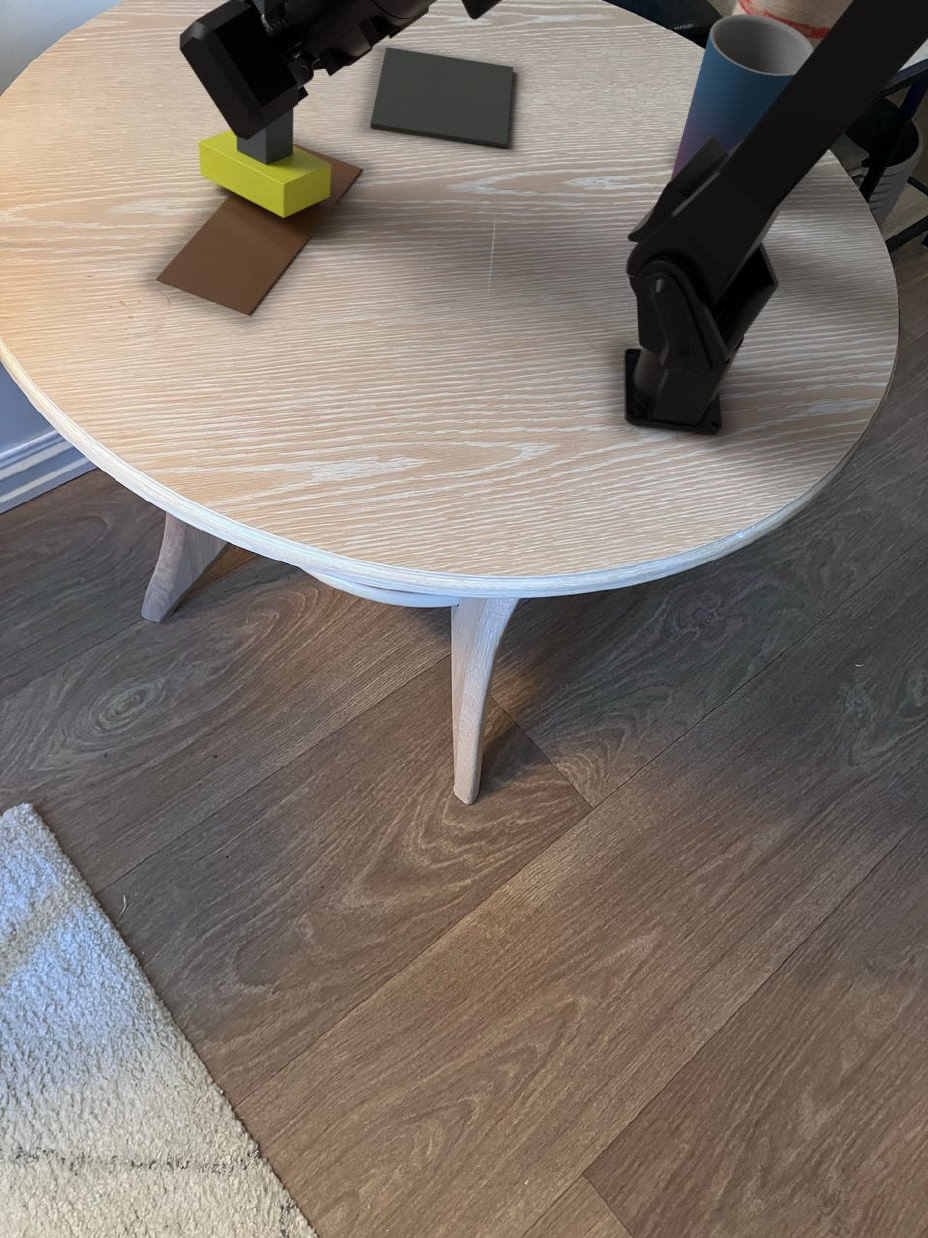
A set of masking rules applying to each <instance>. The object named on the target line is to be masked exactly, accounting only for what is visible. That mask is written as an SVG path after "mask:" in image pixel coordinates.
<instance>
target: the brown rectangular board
mask: <svg viewBox="0 0 928 1238" xmlns="http://www.w3.org/2000/svg"><path fill="white" fill-rule="evenodd" d="M293 146H294V147H296V148H299V149H301V150H303V151H305V152H307V153H309V154H311V155H313V156H315V157H317V158H319V159H321V160H323V161H325V162H327V163H329V164H331V177H330V197H328V198H326V199H324V200H322V201H320V202H317V203H315V204H313V205H311V206H309V207H306V208H304V209H302V210H300V211H298V212H296V213H293V214H291V215H289V216H287V217H285V218H283V217H281V216H279V215H277V214H275V213H273V212H271V211H270V210H268V209H266V208H264V207H262V206H260V205H258V204H256V203H254V202H252V201H250V200H248V199H246V198H244V197H242V196H240V195H238V194H237V193H235V192H233V191H231V193H230V194H229V195H228V197H227V198H226V199H225V200H224V201H223V202H222V203H221V204H220V206H219V207H218V208H217V209H216V210H215V211H214V212H213V213H212V215H211V216H210V217H209V218H208V220H206V221H205V223H204V224H203V225H202V226H201V227H200V228H199V229H198V231H196V233H195V234H194V235H192V237H191V239H190V240H189V241H188V242H187V243H186V244H185V245H184V247H182V249H181V250H180V251H179V252H178V253H177V254H176V255H175V256H174V258H173V259H172V260H171V261H170V262H169V264H168V265H167V266H166V267H165V268H164V269H163V270H162V271H161V272H160V274H158V276H157V277H156V278H155V280H156V282H159V283H162V284H164V285H167V286H170V287H172V288H175V289H178V290H180V291H183V292H186V293H188V294H191V295H193V296H196V297H198V298H201V299H204V300H207V301H209V302H212V303H215V304H217V305H219V306H223V307H225V308H228V309H230V310H233V311H235V312H237V313H240V314H243V315H245V316H248V317H249V316H251V314H252V313H253V311H254V310H255V309H256V308H257V306H259V304H260V302H261V301H262V300H263V299H264V297H265V296H266V295H267V293H268V292H269V291H270V290H271V289H272V287H273V286H274V284H275V283H276V282H277V281H278V279H279V278H280V276H282V274H283V273H284V271H286V269H287V267H288V266H289V265H290V264H291V263H292V261H293V260H294V259H295V257H296V256H297V255H298V254H299V252H300V251H301V249H303V247H304V246H305V244H306V243H308V241H309V239H310V238H311V237H312V235H313V234H314V233H315V232H316V231H317V229H318V228H319V226H320V225H321V224H322V222H323V221H324V220H325V219H326V218H327V216H328V215H329V214H330V213H331V211H332V210H333V208H334V207H335V206H336V205H337V204H338V202H339V201H340V199H341V198H342V197H343V196H344V194H345V193H346V192H347V191H348V189H349V188H350V187H351V185H352V184H353V182H355V180H356V179H357V177H359V175H360V174H361V173H362V171H363V168H362V167H361V166H357V165H354V164H351V163H348V162H346V161H344V160H341V159H337V158H335V157H332V156H329V155H326V154H323V153H320V152H318V151H316V150H312V149H310V148H307V147H304V146H301V145H298V144H296V143H293Z"/></svg>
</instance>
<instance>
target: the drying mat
mask: <svg viewBox="0 0 928 1238" xmlns="http://www.w3.org/2000/svg"><path fill="white" fill-rule="evenodd" d="M513 73H514V66H508V65H502V64H496V63H489V62H483V61H477V60H472V59H471V60H470V59H465V58H459V57H458V58H457V57H451V56H445V55H438V54H432V53H427V52H420V51H413V50H407V49H401V48H394V47H388V46H386V47H385V51H384V56H383V60H382V66H381V69H380V75H379V79H378V84H377V90H376V95H375V100H374V104H373V108H372V109H373V111H372V114H371V119H370V122H369V123H370V126H369V127H370V129H376V130H382V131H389V132H395V133H401V134H409V135H415V136H421V137H429V138H435V139H442V140H448V141H455V142H460V143H468V144H475V145H481V146H486V147H487V146H488V147H494V148H501V149H507V147H508V138H509V124H510V113H511V112H510V111H511V99H512V88H513V76H514V75H513Z"/></svg>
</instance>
